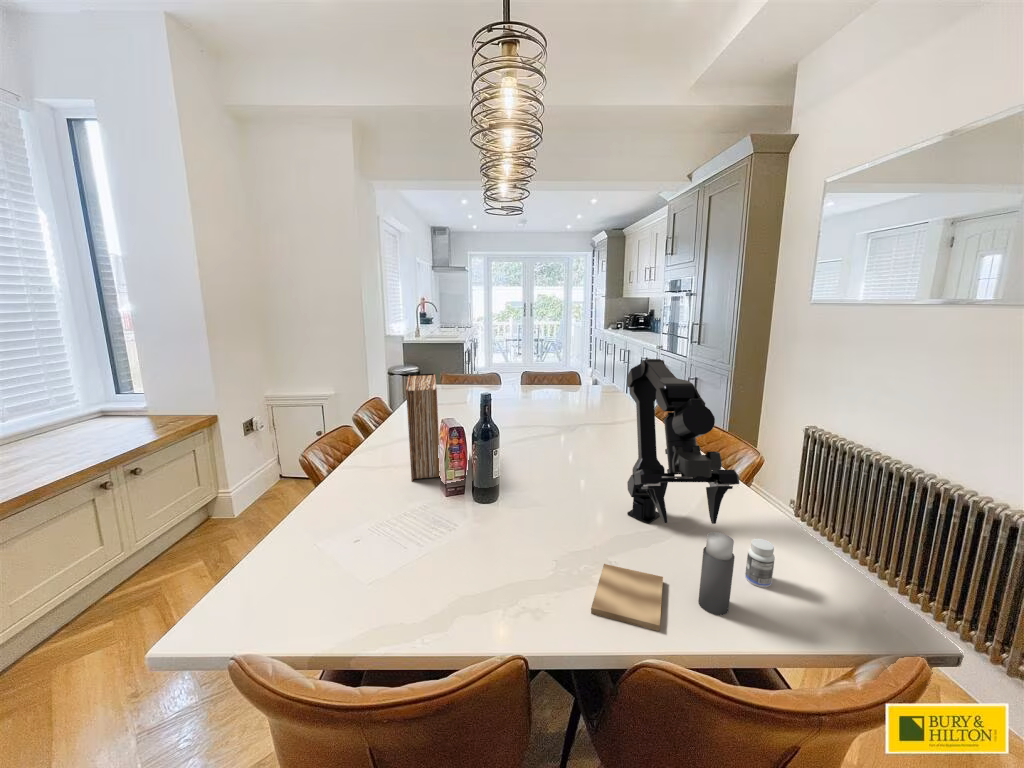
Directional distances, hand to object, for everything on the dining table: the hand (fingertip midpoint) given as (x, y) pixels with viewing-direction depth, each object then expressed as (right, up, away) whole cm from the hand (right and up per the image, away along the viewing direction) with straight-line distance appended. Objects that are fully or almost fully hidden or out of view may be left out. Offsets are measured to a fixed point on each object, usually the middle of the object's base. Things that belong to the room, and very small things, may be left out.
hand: (689, 523), depth 82 cm
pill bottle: (+17, -14, +6) cm, 22 cm away
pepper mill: (+4, -15, -1) cm, 16 cm away
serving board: (-11, -15, +1) cm, 19 cm away
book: (-64, -1, +66) cm, 92 cm away
